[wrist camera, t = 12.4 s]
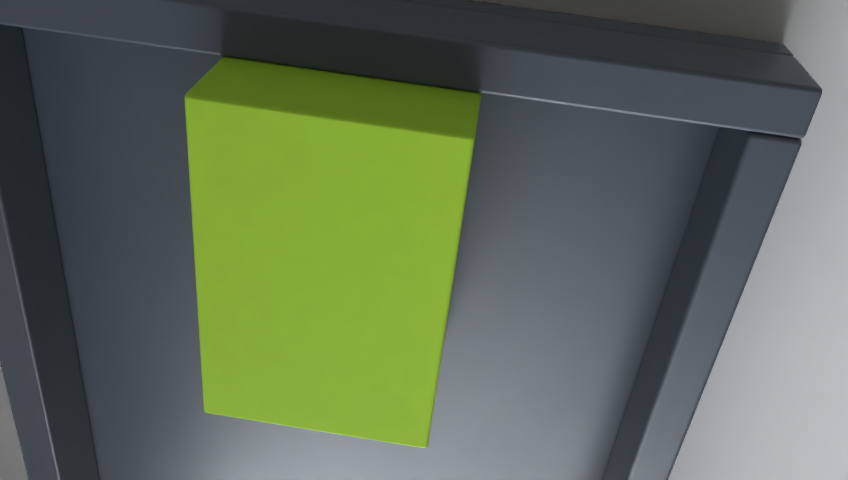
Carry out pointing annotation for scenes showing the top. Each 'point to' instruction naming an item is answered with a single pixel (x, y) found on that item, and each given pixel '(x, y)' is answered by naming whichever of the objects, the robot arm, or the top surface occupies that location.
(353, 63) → the tray
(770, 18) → the top surface
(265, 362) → the sponge
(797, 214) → the top surface
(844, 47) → the top surface
